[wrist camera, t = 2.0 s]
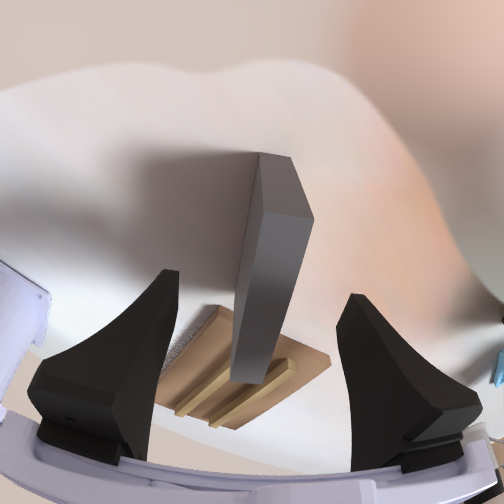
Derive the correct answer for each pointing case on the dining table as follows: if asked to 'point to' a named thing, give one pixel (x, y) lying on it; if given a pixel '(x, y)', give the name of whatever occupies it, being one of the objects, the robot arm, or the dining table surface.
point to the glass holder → (478, 433)
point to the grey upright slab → (268, 265)
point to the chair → (499, 370)
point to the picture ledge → (218, 376)
